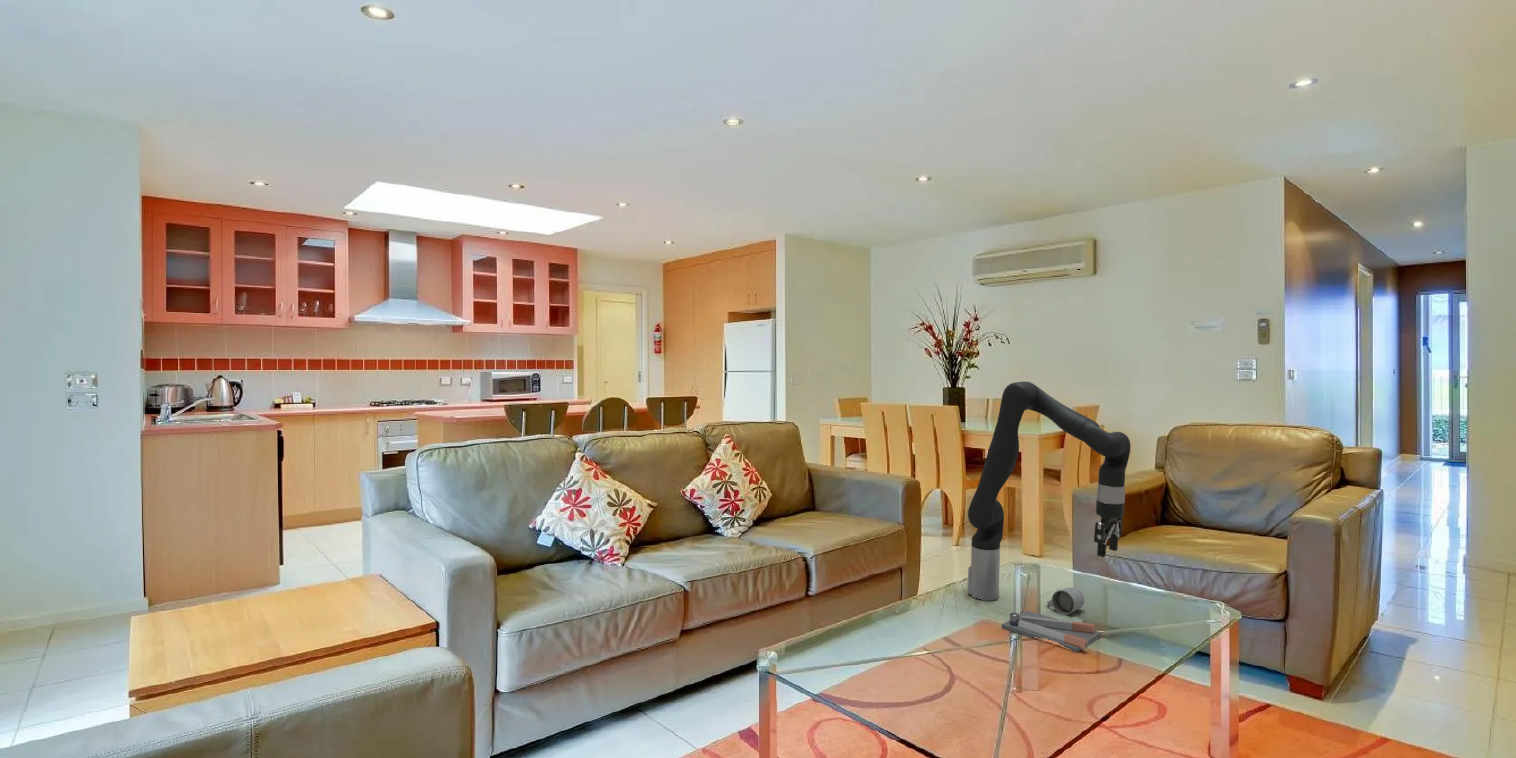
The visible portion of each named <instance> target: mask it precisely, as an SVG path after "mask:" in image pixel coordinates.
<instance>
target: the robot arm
mask: <svg viewBox="0 0 1516 758" xmlns="http://www.w3.org/2000/svg"><path fill="white" fill-rule="evenodd" d="M1029 410H1030V411H1033V412H1036V413H1038V414H1041V415H1043V416H1044V417H1046V418H1048V419H1049V420H1050V421H1051V422H1053V423H1054V424H1055V425H1056V427H1058V428H1060V429H1061V430H1062V431H1063V432H1065V433H1066V434H1068V435H1070V436H1072V437H1073V438H1076V439H1078V440H1079V441H1082V442H1084V443H1085V445H1087V446H1088V447H1089V448H1091V449H1092V450H1093V451H1094V452H1095V453H1097V454H1099V455H1100V456H1103V457H1104V460H1103V463H1102V464H1101V465H1100V466H1099V468H1098V481H1097V489H1096V496H1095V497H1096V498H1095V499H1096V500H1095V501H1096V502H1095V514H1096V515H1097V516H1099V517H1100V521H1096V522H1095V524H1094V525H1095V526H1094V538H1093V542H1094V543H1096V544H1097V551H1096V555H1097V556H1098V557H1100V558H1105V557H1106V556H1107V543H1108V541H1109V544H1108V549H1109V551H1114V552H1117V551H1118V549H1119V548H1118V547H1119V546H1118V545H1119V539H1120V536H1122V535H1123V517H1124V515H1125V503H1126V502H1125V501H1126V499H1125V498H1126V492H1125V491H1126V489H1125V486H1126V485H1125V483H1126V468H1127V466H1128V462H1129V459H1130V454H1131V441H1130V438H1129V436H1127V434H1126V433H1124V432H1121V431H1113V432H1108V431H1106V430H1104V429H1103V428H1101V427H1100V425H1099V423H1098V422H1096V421H1095V420H1093V419H1091V418H1089V417H1087V416H1085V415H1083V414H1082V413H1079V412H1078V411H1076V410H1073V409H1072V408H1070V407H1069V406H1066V405H1064V404H1063V403H1061V402H1059V401H1058V400H1057V399H1055V397H1054V398H1053V397H1052V396H1051V395H1049V394H1048V393H1047V392H1045V391H1044V390H1042V389H1041V388H1040V387H1038V386H1037V385H1036V384H1034V383H1032V382H1031V381H1015V382H1012V383H1010V384H1008V385H1007V386H1006V387H1005V388H1004V390H1003V393H1002V396H1001V401H1000V407H999V413H998V417H997V420H996V421H997V422H996V424H995V425H996V426H995V428H994V431H993V434H992V438H991V441H990V445H989V448H988V451H987V453H986V457H985V461H984V464H983V468H982V472H981V475H980V478H979V483H978V485H977V487H976V490H975V492H974V495H973V496H972V499H971V501H970V504H969V507H968V510H967V518H968V520H969V523H970V525H972V527H973V528H976V532H975V533H974V534H973V536H972V537H971V548H970V549H971V550H970V552H971V553H970V554H971V557H970V560H971V562H970V566H969V567H968V573H967V576H968V577H967V594H968V593H970V594H971V595H972V596H974V597H976V598H978V599H977V600H979V599H981V600H980V601H986V602H991V601H996V600H998V599H999V597H1000V595H999V594H1000V566H1001V565H1000V563H1001V562H1000V561H1001V559H1000V556H1001V542H1002V540H1003V536H1004V524H1005V523H1004V522H1005V513H1004V508H1003V505H1002V503H1000V501H999V500H997V498H998V496H999V493H1000V491H1001V490H1002V488H1003V486H1004V485H1005V484H1006V482H1007V481H1008V479H1009V478H1010V476H1011V475H1012V473H1013V471H1014V469H1015V466H1016V463H1017V460H1018V457H1019V454H1020V453H1019V451H1020V440H1019V427H1020V424H1021V421H1022V418H1023V415H1024V412H1025V411H1029ZM971 595H970V596H971ZM972 596H971V597H972ZM976 598H975V599H976Z"/></svg>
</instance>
